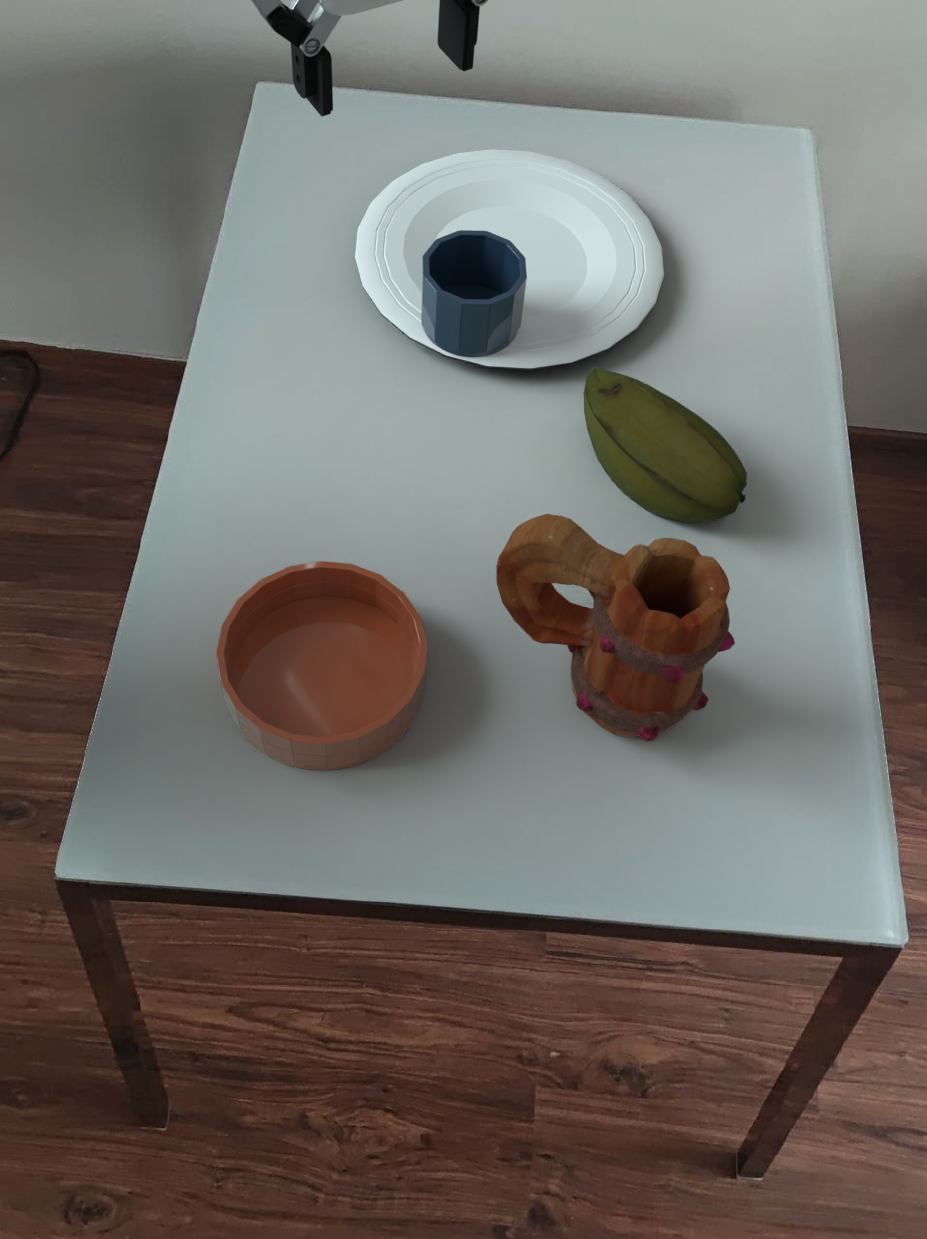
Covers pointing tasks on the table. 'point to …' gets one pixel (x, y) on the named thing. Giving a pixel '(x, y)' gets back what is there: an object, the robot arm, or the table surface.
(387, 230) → the plate
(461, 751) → the table surface
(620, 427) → the fruit
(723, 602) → the mug
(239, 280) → the table surface
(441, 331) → the small bowl
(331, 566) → the big bowl
